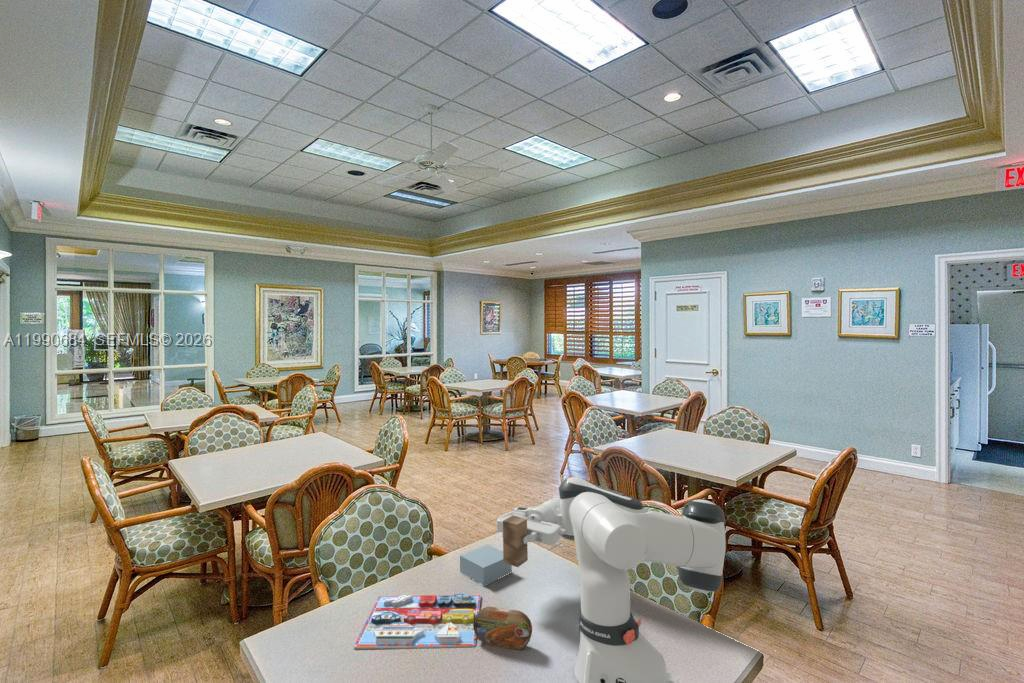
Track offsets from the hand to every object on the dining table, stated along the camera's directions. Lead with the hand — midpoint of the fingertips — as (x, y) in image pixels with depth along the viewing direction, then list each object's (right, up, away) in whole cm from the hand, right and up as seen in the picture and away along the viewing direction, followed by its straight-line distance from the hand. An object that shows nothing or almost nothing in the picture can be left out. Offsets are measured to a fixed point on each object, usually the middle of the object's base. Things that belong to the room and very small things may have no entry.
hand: (513, 538), depth 135 cm
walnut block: (+1, -7, +1) cm, 7 cm away
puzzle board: (-25, -21, -6) cm, 33 cm away
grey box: (-9, -20, +20) cm, 30 cm away
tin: (-3, -20, -16) cm, 26 cm away
